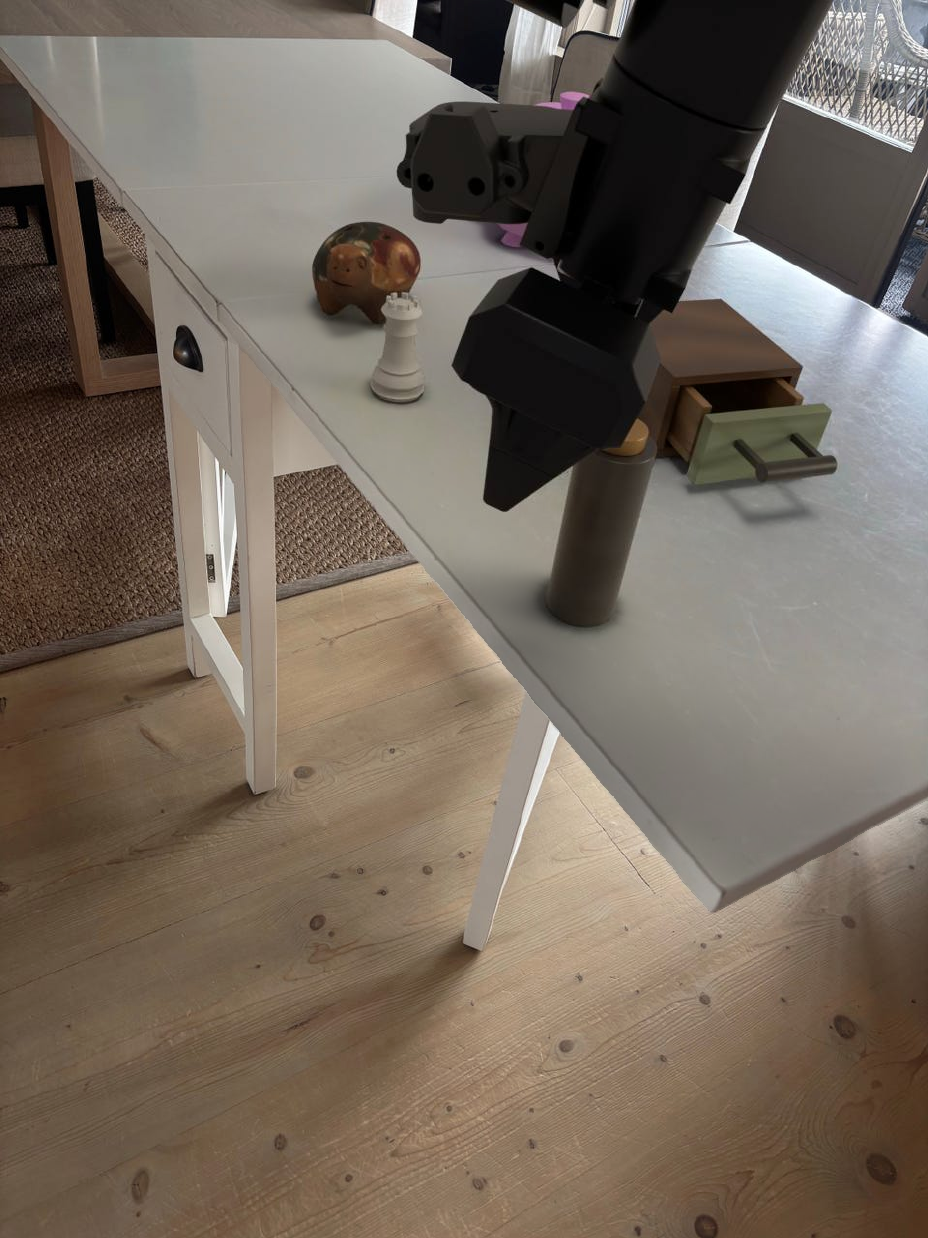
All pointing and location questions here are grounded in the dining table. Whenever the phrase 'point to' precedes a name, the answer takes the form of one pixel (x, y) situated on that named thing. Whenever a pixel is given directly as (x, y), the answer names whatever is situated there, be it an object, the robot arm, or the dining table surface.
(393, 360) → the rook chess piece
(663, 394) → the cabinet
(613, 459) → the pepper mill
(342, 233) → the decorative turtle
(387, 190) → the dining table surface
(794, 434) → the drawer
